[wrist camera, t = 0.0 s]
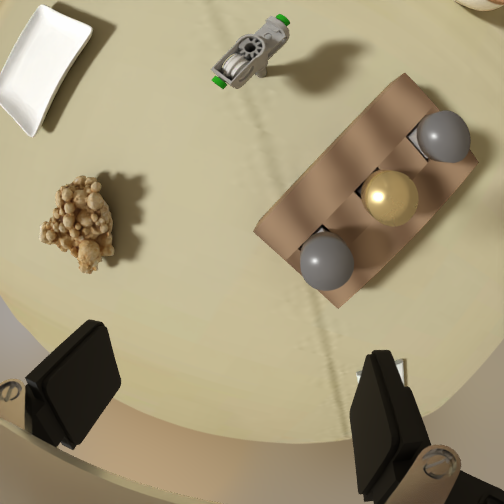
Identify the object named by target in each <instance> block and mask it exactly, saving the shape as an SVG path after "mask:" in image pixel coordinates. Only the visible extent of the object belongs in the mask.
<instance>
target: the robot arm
mask: <svg viewBox="0 0 504 504" xmlns="http://www.w3.org/2000/svg"><path fill="white" fill-rule="evenodd" d="M25 378H26V381H27V383H28V384H27V385H26V386H25V385H24V383H23V382H22V381H21V380H19V379H8V380H5V381H3V382H1V383H0V504H224V503H218V502H213V501H208V500H203V499H198V498H193V497H189V496H185V495H180V494H176V493H172V492H169V491H165V490H162V489H158V488H155V487H151V486H148V485H145V484H142V483H138V482H136V481H133V480H130V479H127V478H124V477H122V476H118V475H116V474H114V473H111V472H108V471H106V470H103V469H101V468H99V467H96V466H94V465H91V464H89V463H87V462H85V461H82V460H80V459H78V458H76V457H74V456H72V455H70V454H68V453H66V452H63V451H62V450H60V449H59V447H58V445H59V443H60V442H61V443H62V445H64V446H66V447H68V448H70V449H72V450H74V448H75V447H76V445H79V444H80V443H81V442H82V441H83V440H84V438H85V437H86V435H87V434H88V432H89V431H90V429H91V428H92V426H93V425H94V424H95V422H96V421H97V419H98V418H99V416H100V415H101V414H102V412H103V411H104V409H105V408H106V406H107V405H108V404H109V402H110V401H111V399H112V398H113V396H114V395H115V394H116V392H117V391H118V389H119V388H120V386H121V378H120V375H119V371H118V368H117V364H116V361H115V357H114V353H113V349H112V345H111V341H110V337H109V333H108V330H107V328H106V327H105V326H104V324H103V323H102V322H99V321H95V320H87V321H86V322H85V323H84V324H83V325H81V326H80V327H79V328H78V329H77V330H76V331H75V332H74V333H73V334H71V335H70V336H69V337H68V338H67V339H66V340H65V341H64V342H63V343H61V344H60V345H59V346H58V347H57V348H56V349H55V350H54V351H53V352H52V353H51V354H50V355H49V356H48V357H46V358H45V359H44V360H43V361H42V362H41V363H40V364H39V365H38V366H37V367H36V368H35V369H34V370H33V371H32V372H31V373H29V374H28V375H27V376H26V377H25ZM350 424H351V431H352V439H353V447H354V455H355V465H356V475H357V485H358V492H359V494H363V495H364V501H365V502H366V501H374V504H504V491H503V490H501V489H500V488H497V487H495V486H493V485H491V484H488V483H486V482H484V481H482V480H480V479H477V478H476V477H473V476H471V475H469V474H467V473H465V472H463V471H461V470H460V469H461V459H460V457H459V455H458V454H457V453H456V452H455V451H454V450H453V449H451V448H450V447H448V446H445V445H432V446H431V443H430V440H429V437H428V434H427V431H426V428H425V425H424V423H423V420H422V417H421V414H420V412H419V409H418V406H417V404H416V401H415V398H414V396H413V393H412V391H411V389H410V388H409V387H408V386H407V387H404V384H403V382H402V379H401V376H400V374H399V371H398V369H397V366H396V364H395V361H394V359H393V356H392V354H391V352H390V351H389V350H374V351H373V352H372V354H368V355H367V356H366V359H365V362H364V366H363V370H362V373H361V377H360V380H359V383H358V387H357V390H356V393H355V396H354V399H353V402H352V405H351V409H350Z"/></svg>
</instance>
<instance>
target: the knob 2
mask: <svg viewBox="0 0 504 504" xmlns="http://www.w3.org/2000/svg"><path fill="white" fill-rule="evenodd" d="M406 138H407V139H408V140H409V141H410V142H411V143H412V145H413V146H414V147H415V148H416V149H417V150H418V152H419V153H420V154H421V155H422V156H423V158H429V159H431V160H433V161H437V162H448V163H456V162H459V161H461V160H463V159H464V158H465V157H466V155H467V154H468V152H469V149H470V133H469V130H468V127H467V125H466V123H465V122H464V121H463V119H462V118H461V117H460V116H459V115H457V114H456V113H454V112H451V111H440V112H436V113H432V114H429V115H426V116H425V117H423V118H422V119H421V121H419V122H418V124H417V125H416V126H415V127H414V128H413V129H412V130H411V131H410V132H409V133H408V134H407V136H406Z"/></svg>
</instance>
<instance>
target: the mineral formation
mask: <svg viewBox="0 0 504 504" xmlns="http://www.w3.org/2000/svg"><path fill="white" fill-rule="evenodd" d="M100 189H101V184H100V183H99V182H97V180H96V178H93V177H87V179H86V176H79V177H77V178H76V179H75V180H74V181H73V182H72V183H71V184H66V186H62V187H61V188H60V190H58V191H57V193H56V195H55V196H56V205H57V208H55V209H53V217H52V218H50V221H49V222H46V221H45V222H43V223H42V225H41V226H40V234H39V238H40V240H41V241H42V242H44V243H47V244H49V245H51V244H56V245H57V246H58V247H59V248H60V250H61V251H63V252H67V250H68V249H70V251H71V254H72V255H73V256H74V257H75V258H77V260H78V261H79V265H80V266H79V267H78V268H79V269H80V271H81V272H83V273H87V274H91V273H92V271H93V270H95V271H97V270H98V263H99V262H101V261H102V258H101V257H102V256H113V254H114V248H113V246H112V235H111V231H112V226H113V220H112V218H111V213H110V212H109V205H107V204H106V202H105V201H104V200H103V198H102V196H101V195H100V194H99V191H100Z"/></svg>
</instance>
